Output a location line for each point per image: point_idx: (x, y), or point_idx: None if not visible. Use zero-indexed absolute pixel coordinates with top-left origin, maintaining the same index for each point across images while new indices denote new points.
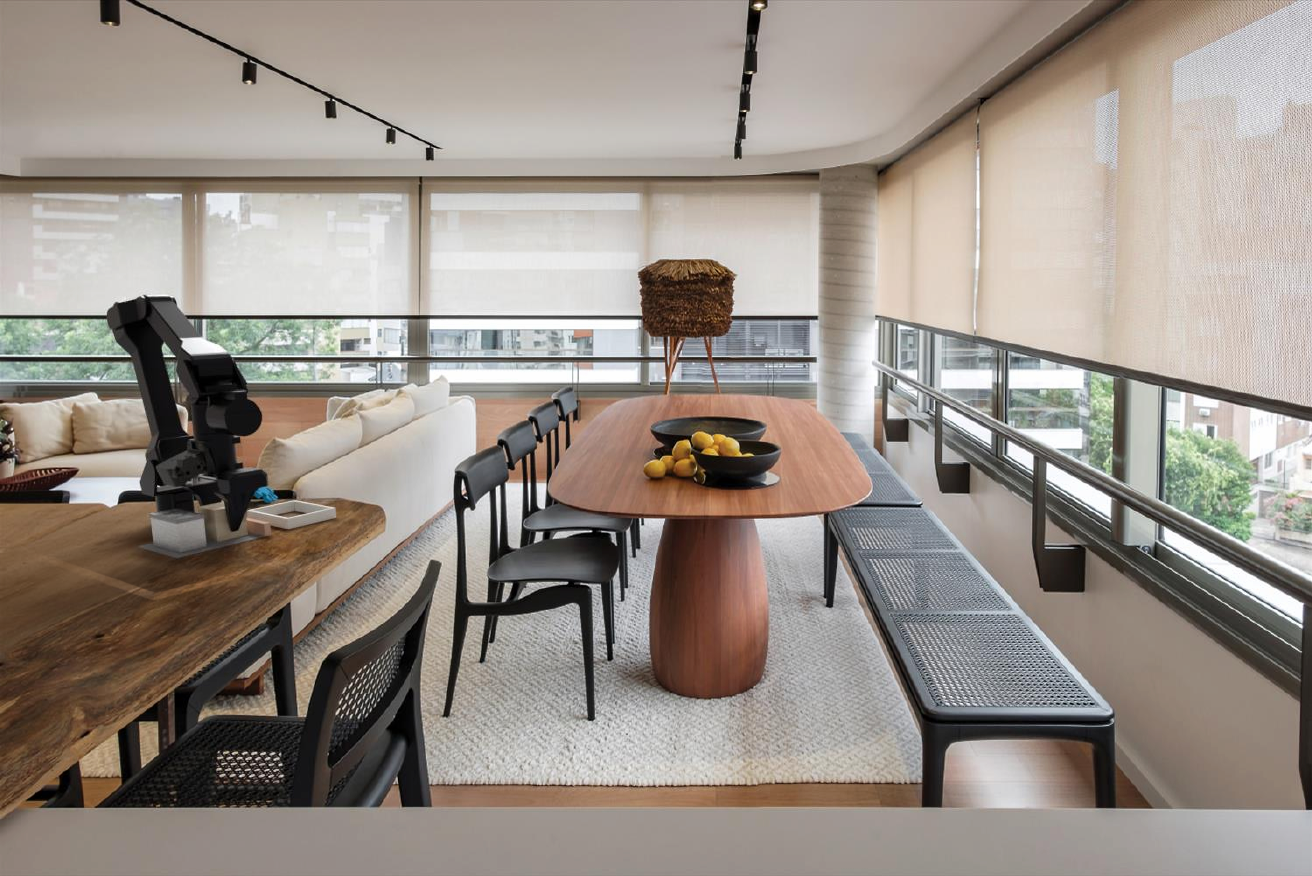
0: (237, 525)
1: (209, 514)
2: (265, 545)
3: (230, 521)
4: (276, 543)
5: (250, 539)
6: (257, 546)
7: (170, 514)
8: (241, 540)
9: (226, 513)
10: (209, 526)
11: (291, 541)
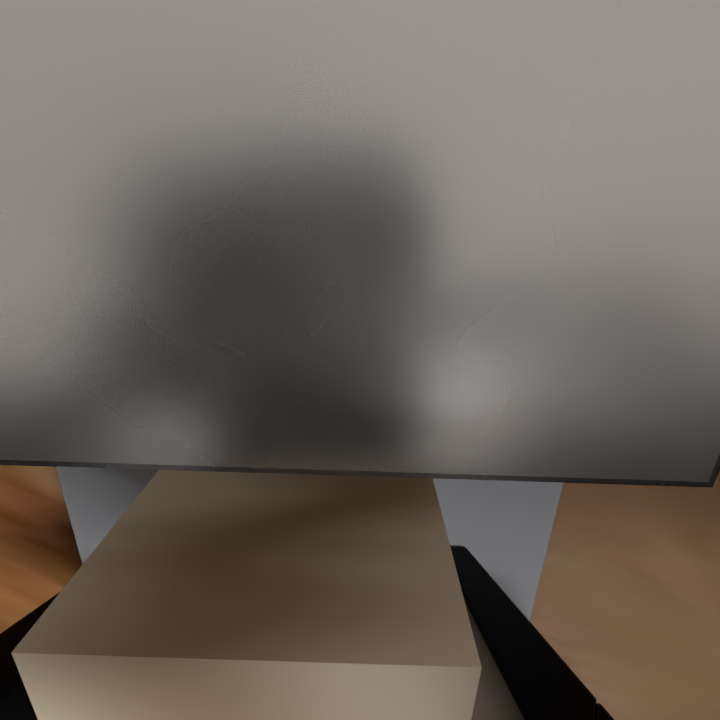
0: None
1: (190, 590)
2: (26, 541)
3: (53, 598)
4: (25, 582)
5: (85, 540)
6: (37, 513)
7: (277, 94)
8: (103, 507)
9: (16, 672)
10: (258, 488)
11: (8, 627)
